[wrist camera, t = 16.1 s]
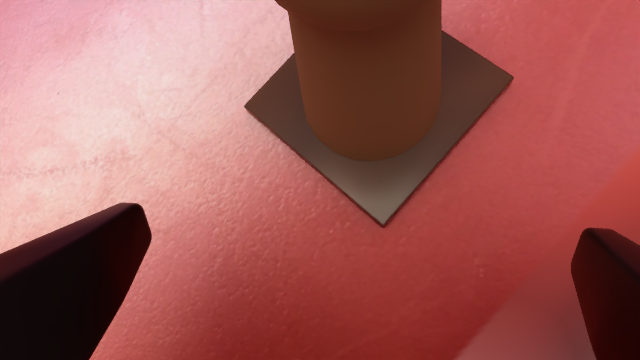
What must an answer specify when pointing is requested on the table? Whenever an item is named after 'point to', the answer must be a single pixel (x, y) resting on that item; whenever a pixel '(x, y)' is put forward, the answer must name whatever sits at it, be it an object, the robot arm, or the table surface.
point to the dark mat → (396, 172)
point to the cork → (368, 72)
